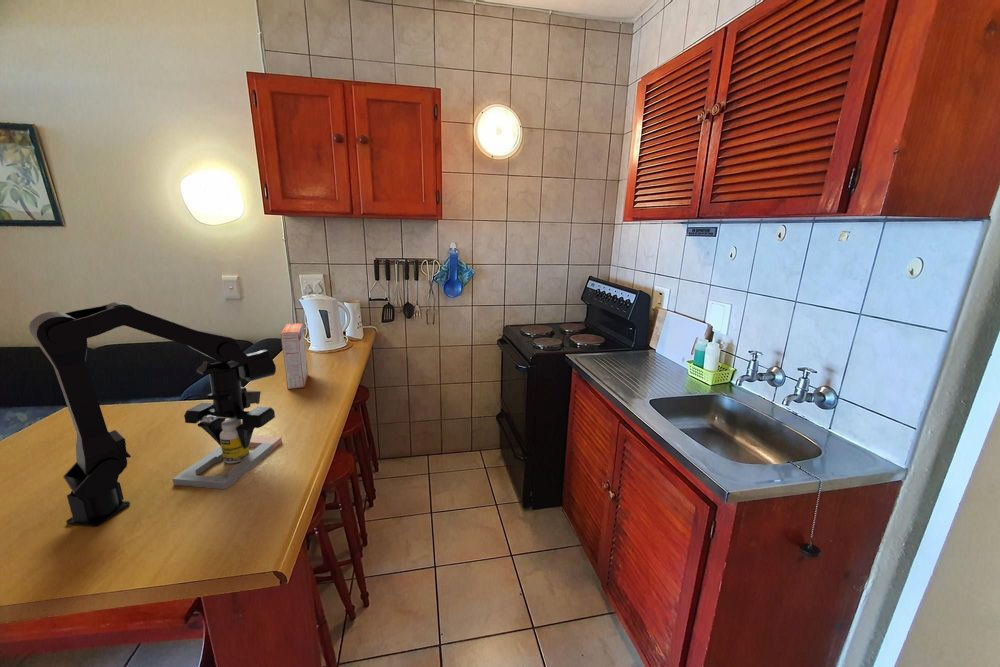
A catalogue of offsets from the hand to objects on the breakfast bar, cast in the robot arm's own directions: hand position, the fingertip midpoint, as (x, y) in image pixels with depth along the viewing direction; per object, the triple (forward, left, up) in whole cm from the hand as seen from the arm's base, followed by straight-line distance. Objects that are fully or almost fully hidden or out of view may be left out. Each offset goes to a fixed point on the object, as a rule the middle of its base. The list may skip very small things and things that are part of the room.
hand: (235, 446), depth 96 cm
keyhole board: (-1, 0, -3) cm, 3 cm away
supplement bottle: (0, 0, -3) cm, 3 cm away
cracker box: (+50, +14, -4) cm, 52 cm away
